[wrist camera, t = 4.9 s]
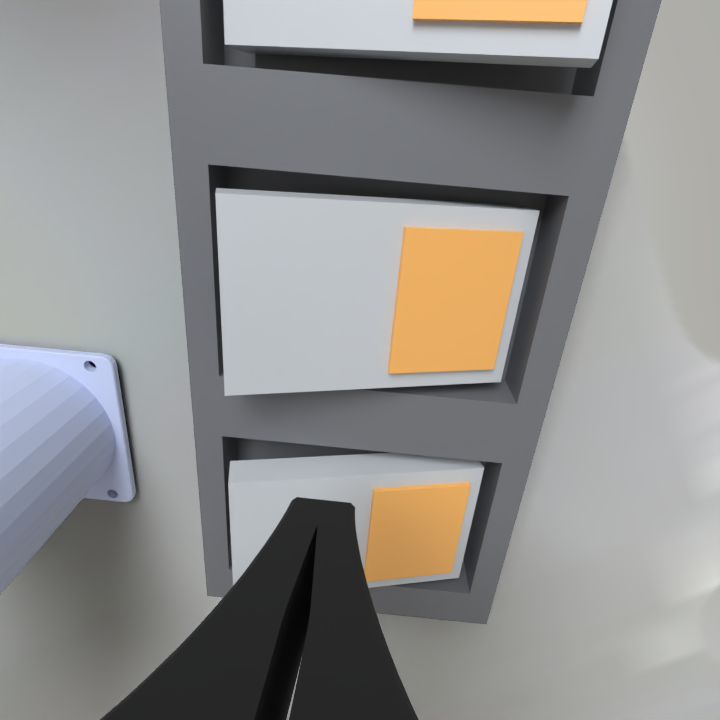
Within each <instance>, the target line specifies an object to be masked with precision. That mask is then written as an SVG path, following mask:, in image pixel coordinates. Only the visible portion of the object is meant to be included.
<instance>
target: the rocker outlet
mask: <svg viewBox="0 0 720 720" xmlns="http://www.w3.org/2000/svg"><path fill="white" fill-rule="evenodd" d="M612 2H613V0H223V8H224V37H225V45H228V46H230V47H233V48H235V49H238V50H241V51H243V52H246V53H253V54H277V55H300V56H324V57H347V58H370V59H394V60H417V61H440V62H464V63H487V64H511V65H534V66H557V67H581V68H591V67H592V66H593V65H594V64H595V62H596V61H597V60H598V59H599V55H600V51H601V47H602V43H603V39H604V35H605V31H606V27H607V22H608V18H609V14H610V10H611V6H612Z"/></svg>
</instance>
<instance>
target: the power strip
mask: <svg viewBox="0 0 720 720" xmlns="http://www.w3.org/2000/svg"><path fill="white" fill-rule="evenodd" d="M660 4H661V0H613V2H612V6H611V10H610V14H609V18H608V22H607V27H606V31H605V35H604V39H603V43H602V47H601V51H600V55H599V59H598V60H597V61H596V62H595V64H594V65H593V66H592V67H591V68H581V67H557V66H534V65H511V64H487V63H464V62H440V61H417V60H394V59H370V58H347V57H324V56H300V55H277V54H253V53H246V52H243V51H241V50H238V49H235V48H233V47H230V46H228V45H225V37H224V8H223V0H160V12H161V24H162V37H163V49H164V61H165V74H166V86H167V99H168V111H169V124H170V136H171V149H172V161H173V174H174V186H175V199H176V211H177V224H178V236H179V249H180V261H181V274H182V286H183V298H184V311H185V323H186V336H187V348H188V361H189V373H190V386H191V398H192V411H193V423H194V436H195V448H196V461H197V473H198V486H199V498H200V510H201V523H202V535H203V548H204V560H205V573H206V585H207V596H214V597H224V596H225V595H226V594H227V593H228V591H229V590H230V589H231V588H232V587H233V574H232V553H231V532H230V511H229V489H228V480H229V469H230V461H239V460H259V459H278V458H298V457H317V456H336V455H356V454H375V453H402V454H412V455H422V456H433V457H443V458H453V459H464V460H474V461H480V462H481V464H482V465H483V467H484V471H483V476H482V480H481V484H480V489H479V493H478V497H477V502H476V506H475V510H474V515H473V519H472V523H471V528H470V532H469V536H468V541H467V545H466V549H465V554H464V558H463V562H462V566H461V571H460V575H459V578H453V579H444V580H435V581H426V582H417V583H408V584H399V585H390V586H381V587H372V588H369V592H370V595H371V599H372V602H373V606H374V609H375V612H376V613H381V614H391V615H401V616H411V617H421V618H430V619H440V620H450V621H460V622H470V623H480V624H486V623H487V620H488V616H489V612H490V609H491V605H492V602H493V598H494V595H495V591H496V588H497V584H498V580H499V577H500V573H501V570H502V566H503V563H504V559H505V556H506V552H507V548H508V545H509V541H510V538H511V534H512V531H513V527H514V523H515V520H516V516H517V513H518V509H519V506H520V502H521V499H522V495H523V491H524V488H525V484H526V481H527V477H528V474H529V470H530V467H531V463H532V459H533V456H534V452H535V449H536V445H537V442H538V438H539V434H540V431H541V427H542V424H543V420H544V417H545V413H546V410H547V406H548V402H549V399H550V395H551V392H552V388H553V385H554V381H555V378H556V374H557V370H558V367H559V363H560V360H561V356H562V353H563V349H564V345H565V342H566V338H567V335H568V331H569V328H570V324H571V321H572V317H573V313H574V310H575V306H576V303H577V299H578V296H579V292H580V289H581V285H582V281H583V278H584V274H585V271H586V267H587V264H588V260H589V256H590V253H591V249H592V246H593V242H594V239H595V235H596V232H597V228H598V224H599V221H600V217H601V214H602V210H603V207H604V203H605V200H606V196H607V192H608V189H609V185H610V182H611V178H612V175H613V171H614V167H615V164H616V160H617V157H618V153H619V150H620V146H621V143H622V139H623V135H624V132H625V128H626V125H627V121H628V118H629V114H630V111H631V107H632V103H633V100H634V96H635V92H636V89H637V85H638V82H639V78H640V75H641V71H642V68H643V64H644V60H645V57H646V54H647V50H648V46H649V43H650V39H651V36H652V32H653V29H654V25H655V21H656V18H657V14H658V11H659V7H660ZM216 188H226V189H244V190H261V191H279V192H297V193H314V194H332V195H350V196H368V197H385V198H403V199H421V200H438V201H456V202H474V203H492V204H509V205H520V206H524V207H528V208H531V209H535V210H539V211H540V212H539V216H538V221H537V225H536V229H535V234H534V238H533V243H532V247H531V251H530V256H529V260H528V265H527V269H526V273H525V278H524V282H523V287H522V291H521V295H520V300H519V304H518V308H517V313H516V317H515V322H514V326H513V330H512V335H511V339H510V344H509V348H508V352H507V357H506V361H505V366H504V370H503V374H502V379H501V382H491V383H471V384H451V385H431V386H411V387H391V388H371V389H351V390H331V391H311V392H291V393H271V394H251V395H231V396H225V391H224V369H223V348H222V326H221V305H220V283H219V262H218V240H217V219H216V197H215V192H216Z"/></svg>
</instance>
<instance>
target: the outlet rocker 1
mask: <svg viewBox="0 0 720 720" xmlns="http://www.w3.org/2000/svg"><path fill="white" fill-rule="evenodd" d="M215 197H216V219H217V240H218V262H219V283H220V305H221V326H222V348H223V369H224V391H225V396H231V395H251V394H271V393H291V392H311V391H331V390H351V389H371V388H391V387H411V386H431V385H451V384H471V383H491V382H501V379H502V374H503V370H504V366H505V361H506V357H507V352H508V348H509V344H510V339H511V335H512V330H513V326H514V322H515V317H516V313H517V308H518V304H519V300H520V295H521V291H522V287H523V282H524V278H525V273H526V269H527V265H528V260H529V256H530V251H531V247H532V243H533V238H534V234H535V229H536V225H537V221H538V216H539V212H540V211H539V210H535V209H531V208H528V207H524V206H520V205H509V204H492V203H474V202H456V201H438V200H421V199H403V198H385V197H368V196H350V195H332V194H314V193H297V192H279V191H261V190H244V189H226V188H216V192H215Z"/></svg>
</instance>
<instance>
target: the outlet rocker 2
mask: <svg viewBox="0 0 720 720" xmlns="http://www.w3.org/2000/svg"><path fill="white" fill-rule="evenodd" d="M483 471H484V467H483V465H482V464H481V462H480V461H474V460H464V459H453V458H443V457H433V456H422V455H412V454H402V453H375V454H356V455H336V456H317V457H298V458H278V459H259V460H239V461H230V469H229V480H228V489H229V511H230V532H231V553H232V574H233V585H234V584H235V583H236V582H237V580H238V579H239V578H240V577H241V576H242V574H243V573H244V572H245V570H246V569H247V568H248V566H249V565H250V564H251V562H252V561H253V560H254V558H255V557H256V555H257V554H258V553H259V551H260V550H261V549H262V547H263V546H264V545H265V543H266V542H267V540H268V539H269V537H270V536H271V534H272V533H273V531H274V530H275V528H276V527H277V525H278V524H279V522H280V520H281V519H282V517H283V515H284V514H285V512H286V510H287V508H288V507H289V505H290V503H291V501H292V500H293V499H295V498H296V497H301V498H311V499H320V500H330V501H339V502H348V503H352V505H353V506H354V507H355V525H356V533H357V540H358V546H359V551H360V556H361V561H362V565H363V569H364V573H365V577H366V581H367V585H368V588H372V587H381V586H390V585H399V584H408V583H417V582H426V581H435V580H444V579H453V578H459V575H460V571H461V566H462V562H463V558H464V554H465V549H466V545H467V541H468V536H469V532H470V528H471V523H472V519H473V515H474V510H475V506H476V502H477V497H478V493H479V489H480V484H481V480H482V476H483Z"/></svg>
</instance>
